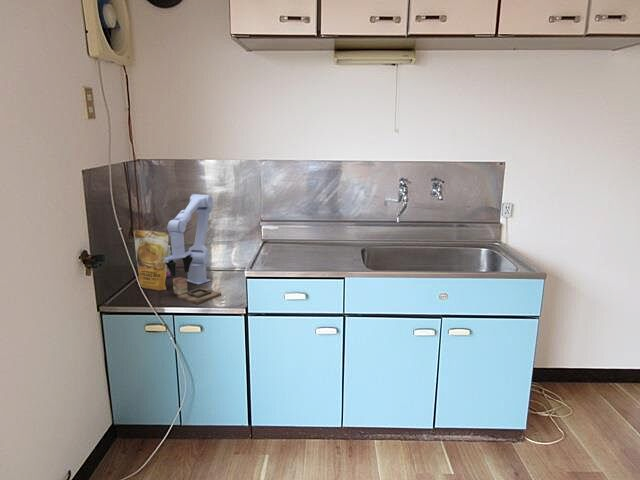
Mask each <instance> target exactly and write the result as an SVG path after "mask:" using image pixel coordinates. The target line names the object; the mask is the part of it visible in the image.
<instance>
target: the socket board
mask: <svg viewBox="0 0 640 480" xmlns="http://www.w3.org/2000/svg"><path fill="white" fill-rule="evenodd" d="M221 296H222V292H219V291H215V290H212V289H210V288H206V287H202V286H200V287H197V288H194V289H191V290H188V292H185V293H182V294H179V295H177V294H176V297H177V299H180V300H183V301H185V302H188V303H191V304H195V305H200V304H203V303H205V302H208V301H210V300H213V299H215V298H218V297H221Z"/></svg>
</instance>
